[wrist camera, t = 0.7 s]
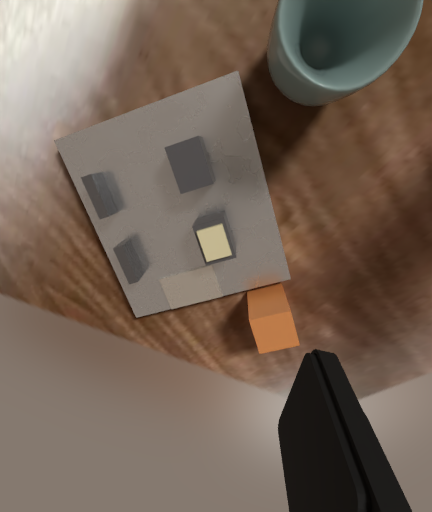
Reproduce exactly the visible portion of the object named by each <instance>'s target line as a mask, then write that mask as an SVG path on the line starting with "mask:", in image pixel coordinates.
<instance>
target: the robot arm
mask: <svg viewBox="0 0 432 512" xmlns="http://www.w3.org/2000/svg"><path fill="white" fill-rule="evenodd" d="M278 434H279V441H280V449H281V456H282V463H283V470H284V477H285V484H286V491H287V498H288V505H289V512H412V510H411V508H410V506H409V504H408V502H407V500H406V498H405V496H404V493H403V491H402V489H401V487H400V485H399V483H398V481H397V479H396V477H395V475H394V473H393V470H392V468H391V466H390V464H389V462H388V460H387V458H386V456H385V454H384V452H383V449H382V447H381V446H380V443H379V441H378V439H377V437H376V435H375V433H374V431H373V429H372V427H371V424H370V422H369V420H368V418H367V416H366V415H365V413H364V412H363V410H362V408H361V406H360V404H359V402H358V400H357V397H356V395H355V393H354V391H353V389H352V387H351V385H350V383H349V381H348V378H347V376H346V374H345V372H344V370H343V368H342V366H341V364H340V362H339V359H338V357H337V356H336V354H334V353H330V352H325V351H321V350H316V349H315V350H313V351H312V352H311V353H306V354H305V356H304V358H303V361H302V363H301V366H300V368H299V371H298V373H297V376H296V378H295V381H294V383H293V386H292V388H291V391H290V393H289V396H288V399H287V401H286V404H285V406H284V409H283V411H282V414H281V416H280V419H279V424H278Z"/></svg>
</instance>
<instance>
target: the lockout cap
mask: <svg viewBox="0 0 432 512" xmlns="http://www.w3.org/2000/svg"><path fill="white" fill-rule="evenodd" d="M247 299H248V313H249V322H250V325H251V328H252V331H253V335H254V338H255V341H256V344H257V347H258V350H259V353H260V354H262V353H266V352H271V351H276V350H281V349H285V348H290V347H295V346H300V344H299V340H298V337H297V333H296V329H295V325H294V321H293V318H292V314H291V310H290V307H289V304H288V301H287V298H286V295H285V292H284V289H283V286H282V283H279V284H275V285H271V286H267V287H263V288H259V289H255V290H251V291H247Z"/></svg>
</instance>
